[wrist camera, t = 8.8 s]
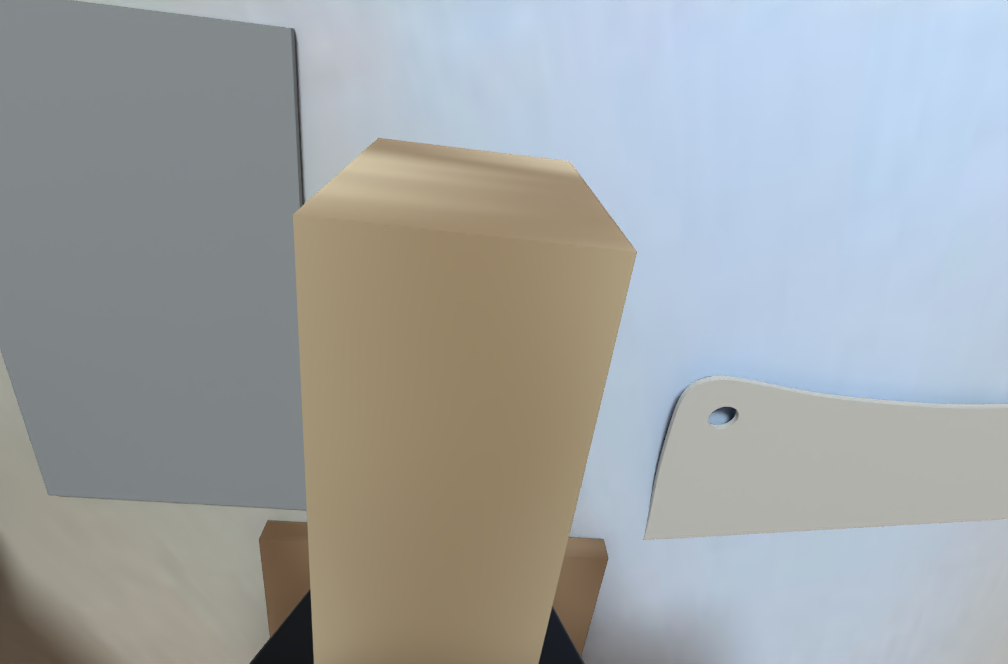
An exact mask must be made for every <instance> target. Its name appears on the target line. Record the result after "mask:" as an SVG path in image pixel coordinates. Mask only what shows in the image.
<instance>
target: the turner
mask: <svg viewBox="0 0 1008 664" xmlns="http://www.w3.org/2000/svg"><path fill="white" fill-rule="evenodd" d="M293 227H294V249H295V270H296V291H297V313H298V334H299V355H300V377H301V398H302V419H303V441H304V462H305V483H306V505H307V526H308V547H309V569H310V590H311V611H312V633H313V654H314V664H538V663H539V659H540V655H541V651H542V647H543V643H544V638H545V634H546V630H547V626H548V622H549V617H550V613H551V609H552V605H553V601H554V597H555V592H556V588H557V584H558V580H559V576H560V572H561V567H562V563H563V559H564V555H565V551H566V546H567V542H568V538H569V534H570V530H571V526H572V521H573V517H574V513H575V509H576V505H577V500H578V496H579V492H580V488H581V484H582V480H583V475H584V471H585V467H586V463H587V459H588V454H589V450H590V446H591V442H592V438H593V434H594V429H595V425H596V421H597V417H598V413H599V409H600V404H601V400H602V396H603V392H604V388H605V383H606V379H607V375H608V371H609V367H610V363H611V358H612V354H613V350H614V346H615V342H616V337H617V333H618V329H619V325H620V321H621V317H622V312H623V308H624V304H625V300H626V296H627V291H628V287H629V283H630V279H631V275H632V271H633V266H634V262H635V258H636V254H637V251H636V250H635V248H634V247H633V246H632V244H631V243H630V242H629V240H628V239H627V238H626V236H625V235H624V234H623V232H622V231H621V230H620V228H619V227H618V226H617V224H616V223H615V221H614V220H613V219H612V217H611V216H610V215H609V213H608V212H607V211H606V209H605V208H604V207H603V205H602V204H601V203H600V201H599V200H598V199H597V197H596V196H595V194H594V193H593V192H592V190H591V189H590V188H589V186H588V185H587V184H586V182H585V181H584V180H583V178H582V177H581V176H580V174H579V173H578V172H577V170H576V169H575V167H574V166H573V165H572V163H571V162H570V161H564V160H556V159H547V158H539V157H531V156H523V155H514V154H506V153H498V152H490V151H481V150H473V149H465V148H457V147H448V146H440V145H432V144H424V143H415V142H407V141H399V140H391V139H382V138H378V139H377V140H376V141H374V142H373V143H372V144H371V145H370V146H369V147H368V148H367V149H365V150H364V151H363V152H362V153H361V154H360V155H359V156H358V157H357V158H355V159H354V160H353V161H352V162H351V163H350V164H349V165H348V166H346V167H345V168H344V169H343V170H342V171H341V172H340V173H339V174H338V175H336V176H335V177H334V178H333V179H332V180H331V181H330V182H329V183H327V184H326V185H325V186H324V187H323V188H322V189H321V190H320V191H319V192H317V193H316V194H315V195H314V196H313V197H312V198H311V199H310V200H308V201H307V202H306V203H305V204H304V205H303V206H302V207H301V208H300V209H298V210H297V211H296V212H295V213H294V214H293Z"/></svg>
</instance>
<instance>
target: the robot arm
mask: <svg viewBox="0 0 1008 664" xmlns="http://www.w3.org/2000/svg"><path fill="white" fill-rule="evenodd" d="M250 664H314V654H313V633H312V611H311V590H309V591H308V592H307V593H306V594H305V596H304V597H303V598H302V599H301V601H300V602H299V603H298V604H297V606H296V607H295V608H294V609H293V610H292V612H291V613H290V614H289V615H288V617H287V618H286V619H285V620H284V622H283V623H282V624H281V625H280V627H279V628H278V629H277V630H276V631H275V633H274V634H273V635H272V636H271V638H270V639H269V640H268V641H267V643H266V644H265V645H264V646H263V647H262V649H261V650H260V651H259V652H258V654H257V655H256V656H255V657H254V659H253V660H252V661H251V662H250ZM538 664H585V663H584V661H583V660H582V658H581V656H580V654H579V652H578V651H577V649H576V647H575V645H574V643H573V642H572V640H571V638H570V636H569V634H568V633H567V631H566V629H565V627H564V625H563V623H562V622H561V620H560V618H559V616H558V614H557V613H556V611H555V609H554V607H553V605H552V609H551V613H550V617H549V622H548V626H547V630H546V634H545V638H544V643H543V647H542V651H541V655H540V659H539V663H538Z"/></svg>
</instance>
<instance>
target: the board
mask: <svg viewBox="0 0 1008 664" xmlns="http://www.w3.org/2000/svg"><path fill="white" fill-rule="evenodd" d="M259 544H260V553H261V562H262V570H263V579H264V588H265V597H266V606H267V615H268V623H269V632H270V638H271V636H272V635H273V634H274V633H275V631H276V630H277V629H278V628H279V627H280V625H281V624H282V623H283V622H284V620H285V619H286V618H287V617H288V615H289V614H290V613H291V612H292V610H293V609H294V608H295V607H296V606H297V604H298V603H299V602H300V601H301V599H302V598H303V597H304V596H305V594H306V593H307V592H308V591H309V590H310V569H309V547H308V526H307V523H304V522H286V521H269V520H268V521H267V523H266V525H265V527H264V530H263V532H262V534H261V536H260V539H259ZM607 561H608V555H607V550H606V546H605V542H604V539H591V538H573V537H569V538H568V542H567V546H566V551H565V555H564V559H563V563H562V567H561V572H560V576H559V580H558V584H557V588H556V592H555V597H554V601H553V607H554V609H555V611H556V613H557V614H558V616H559V618H560V620H561V622H562V623H563V625H564V627H565V629H566V631H567V633H568V634H569V636H570V638H571V640H572V642H573V643H574V645H575V647H576V649H577V651H578V652H579V654H580V656H581V655H582V651H583V648H584V644H585V640H586V637H587V633H588V630H589V626H590V623H591V619H592V615H593V612H594V608H595V605H596V601H597V597H598V594H599V590H600V587H601V583H602V579H603V576H604V572H605V569H606V565H607Z"/></svg>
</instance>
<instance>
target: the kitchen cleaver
mask: <svg viewBox="0 0 1008 664" xmlns="http://www.w3.org/2000/svg"><path fill="white" fill-rule="evenodd" d="M721 407H733V408H735V409H736V414H735V416H734V418H733V419H732V420H731V421H729V422H727V423H725V424H722V425H713V424H711V423H709V422H708V418H709V416H710V414H711V413H712V412H713V411H715V410H716V409H718V408H721ZM1000 519H1008V404H937V403H918V402H904V401H891V400H880V399H869V398H859V397H849V396H841V395H832V394H825V393H818V392H811V391H806V390H800V389H794V388H789V387H784V386H779V385H774V384H769V383H765V382H760V381H755V380H750V379H745V378H739V377H732V376H709V377H705V378H701V379H699V380H697V381H695V382H693V383H692V384H690V385H689V386H688V387H687V388H686V389H685V390H684V392H683V393H682V394H681V396H680V398H679V400H678V402H677V405H676V407H675V410H674V413H673V415H672V418H671V422H670V425H669V428H668V431H667V435H666V438H665V442H664V445H663V448H662V452H661V456H660V459H659V463H658V467H657V471H656V476H655V480H654V485H653V490H652V495H651V501H650V506H649V513H648V519H647V525H646V530H645V535H644V539H643V540H655V539H672V538H689V537H706V536H724V535H741V534H758V533H775V532H793V531H810V530H827V529H844V528H862V527H879V526H896V525H913V524H931V523H948V522H965V521H982V520H1000Z"/></svg>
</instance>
